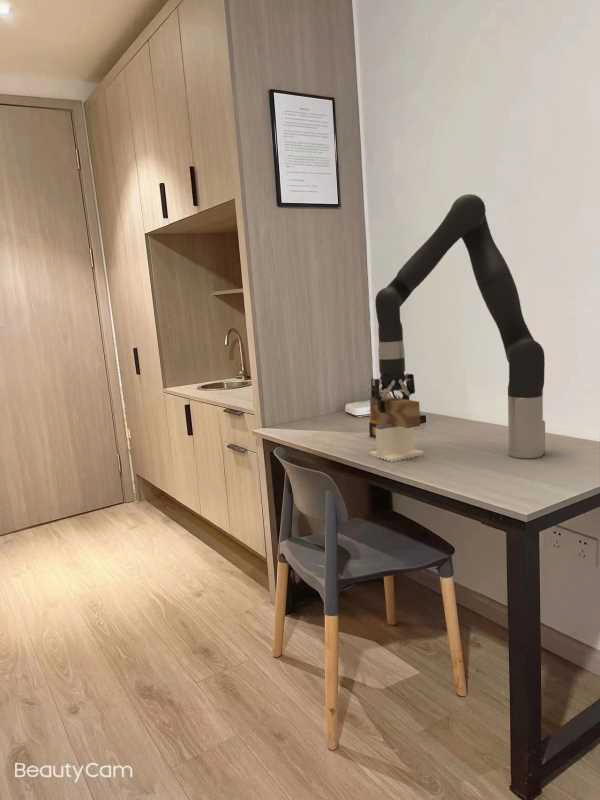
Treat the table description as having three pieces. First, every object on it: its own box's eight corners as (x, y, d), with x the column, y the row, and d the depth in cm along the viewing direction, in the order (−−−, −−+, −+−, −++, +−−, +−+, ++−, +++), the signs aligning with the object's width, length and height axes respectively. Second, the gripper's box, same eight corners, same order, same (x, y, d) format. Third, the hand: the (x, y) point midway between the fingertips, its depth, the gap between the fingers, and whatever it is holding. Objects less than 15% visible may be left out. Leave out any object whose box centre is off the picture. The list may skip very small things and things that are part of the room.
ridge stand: (400, 448, 193) (399, 416, 191) (423, 454, 183) (422, 422, 182) (369, 455, 187) (367, 422, 186) (390, 462, 178) (389, 428, 176)
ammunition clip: (369, 436, 211) (367, 402, 209) (373, 436, 212) (372, 401, 210) (388, 442, 202) (387, 406, 200) (393, 441, 203) (391, 405, 201)
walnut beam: (420, 425, 177) (419, 401, 176) (407, 428, 175) (406, 404, 173) (382, 417, 192) (381, 395, 191) (371, 419, 190) (369, 397, 189)
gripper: (379, 360, 174) (382, 416, 176) (419, 354, 180) (421, 409, 183) (364, 358, 180) (367, 412, 183) (403, 353, 187) (405, 406, 190)
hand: (394, 410), depth 183 cm, fingers open, 8 cm apart
